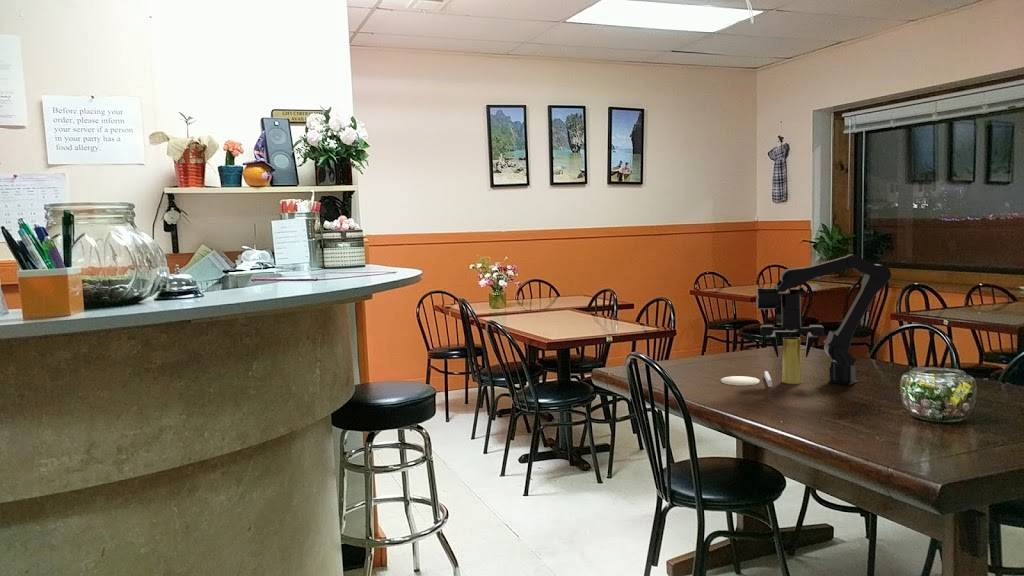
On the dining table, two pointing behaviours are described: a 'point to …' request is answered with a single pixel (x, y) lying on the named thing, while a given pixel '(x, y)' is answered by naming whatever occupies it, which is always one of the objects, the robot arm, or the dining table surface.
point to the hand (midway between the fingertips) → (791, 357)
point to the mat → (740, 380)
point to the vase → (791, 361)
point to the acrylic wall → (768, 379)
